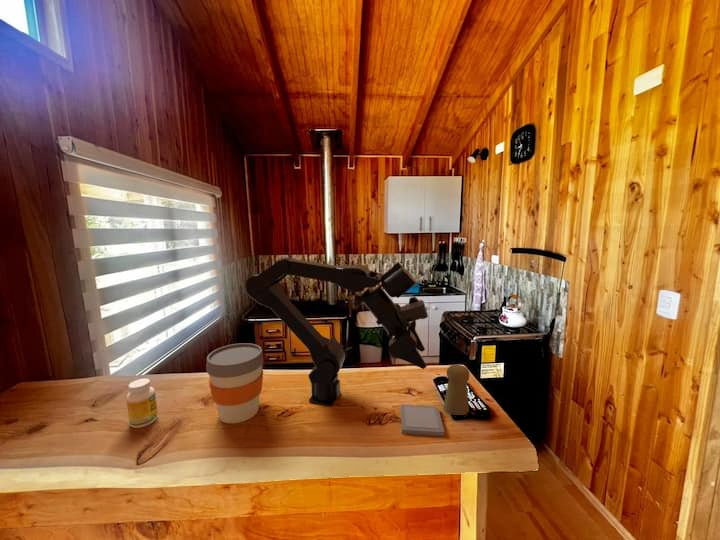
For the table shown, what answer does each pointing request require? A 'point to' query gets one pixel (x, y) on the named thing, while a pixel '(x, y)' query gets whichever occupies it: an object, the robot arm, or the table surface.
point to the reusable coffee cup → (236, 380)
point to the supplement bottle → (141, 403)
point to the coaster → (421, 420)
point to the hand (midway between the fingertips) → (424, 358)
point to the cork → (457, 391)
